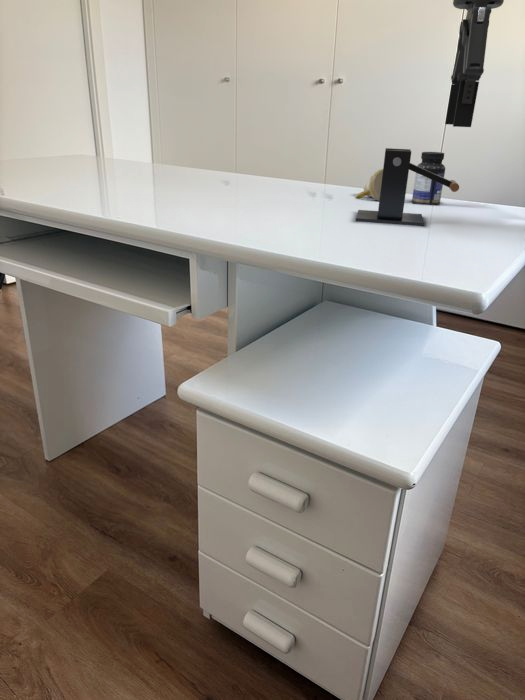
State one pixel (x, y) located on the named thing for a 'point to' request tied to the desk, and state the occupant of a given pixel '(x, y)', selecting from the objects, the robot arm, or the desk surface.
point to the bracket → (393, 192)
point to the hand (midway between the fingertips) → (457, 125)
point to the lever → (435, 177)
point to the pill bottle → (429, 180)
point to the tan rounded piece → (372, 186)
